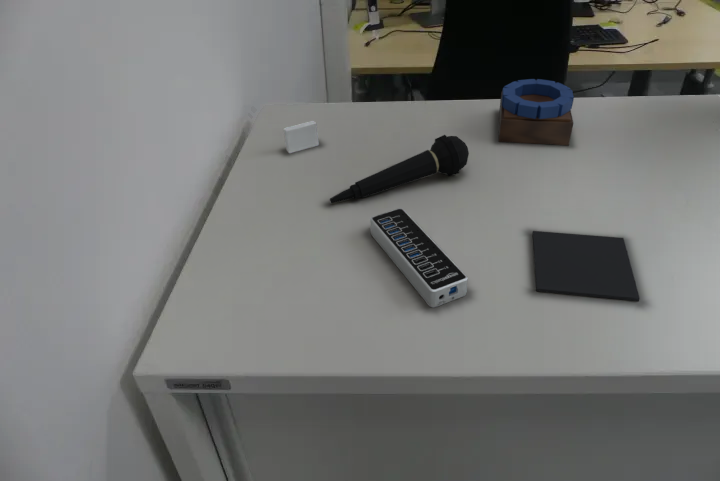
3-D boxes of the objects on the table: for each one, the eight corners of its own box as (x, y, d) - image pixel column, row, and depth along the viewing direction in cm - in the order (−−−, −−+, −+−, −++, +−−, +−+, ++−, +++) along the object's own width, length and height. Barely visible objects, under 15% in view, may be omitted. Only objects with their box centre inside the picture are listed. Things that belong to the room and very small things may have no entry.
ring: (567, 90, 87) (569, 79, 86) (574, 120, 79) (576, 108, 78) (501, 88, 89) (502, 77, 88) (501, 117, 81) (502, 105, 80)
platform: (563, 114, 89) (567, 91, 87) (568, 145, 82) (574, 120, 79) (499, 112, 91) (501, 88, 89) (498, 141, 84) (501, 117, 81)
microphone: (340, 229, 73) (473, 176, 77) (337, 203, 68) (479, 147, 72) (324, 199, 76) (453, 149, 80) (320, 172, 71) (457, 120, 75)
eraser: (319, 145, 85) (316, 123, 83) (289, 153, 84) (285, 131, 82) (315, 142, 86) (313, 120, 84) (286, 150, 85) (282, 128, 82)
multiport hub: (401, 222, 69) (401, 206, 67) (468, 294, 58) (469, 278, 57) (369, 232, 68) (368, 217, 66) (431, 308, 57) (432, 292, 56)
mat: (622, 240, 64) (623, 237, 64) (638, 301, 57) (639, 298, 56) (532, 233, 66) (532, 230, 66) (536, 291, 58) (536, 288, 58)
